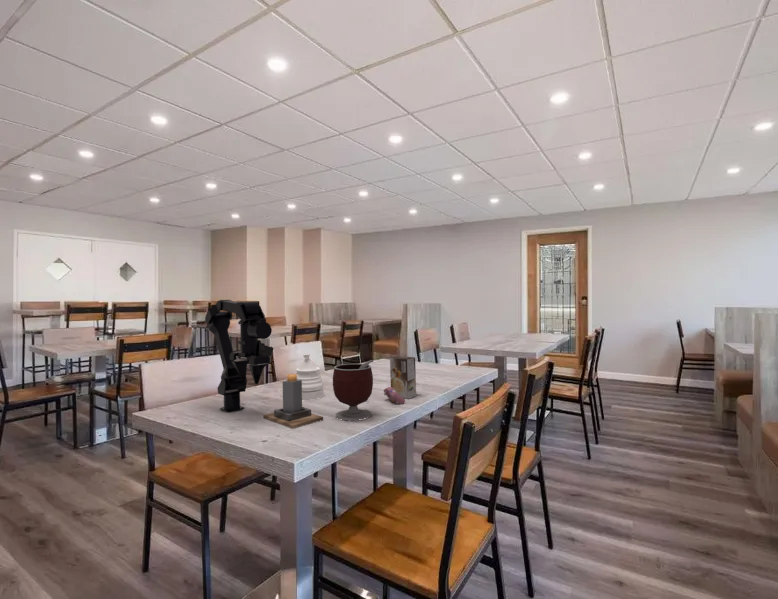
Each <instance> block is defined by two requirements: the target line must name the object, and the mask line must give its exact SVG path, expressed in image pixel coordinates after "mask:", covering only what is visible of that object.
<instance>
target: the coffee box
mask: <svg viewBox="0 0 778 599" xmlns="http://www.w3.org/2000/svg"><path fill="white" fill-rule="evenodd" d="M389 368H390V369H389V370H390V371H389V372H390V387H392V388H394V390H395V391H396V392H397V393H398V394H399V395H400V396H401V397H403V398H404V399H407V400H408V399H411V398H415V397H417V379H416V377H417V376H416V374H417V373H416V357H414V356H403V355H402V356H401V355H395V356H392V357H389Z"/></svg>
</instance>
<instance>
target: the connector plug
mask: <svg viewBox="0 0 778 599" xmlns="http://www.w3.org/2000/svg"><path fill="white" fill-rule="evenodd" d="M286 376H287V377H286V378H287V379H285V380H283V381H282V408H283V412H286V413H289V414H291V413H295V412H299V411H302V407H303V401H302V380H297V373H290V374H287V375H286Z"/></svg>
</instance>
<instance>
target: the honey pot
mask: <svg viewBox="0 0 778 599" xmlns="http://www.w3.org/2000/svg"><path fill="white" fill-rule="evenodd" d="M320 371H321V367H320V366H317V364H316V362H315V361H314V359H312V357H311V356H310V353H304V354H303V359H302V361H301V362H300V364H299V366H298V367H297V368H296V369H295V372H296V374H297V380H302V400H309V401H311V400H310V399H316V400H318V399H317V398H320V397H323V396H325V391H324V390H325V388H324V387H325V386H324V382H323V378H322V375H321V374H320ZM323 398H324V397H323ZM320 399H321V398H320Z"/></svg>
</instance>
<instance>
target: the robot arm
mask: <svg viewBox="0 0 778 599" xmlns="http://www.w3.org/2000/svg"><path fill="white" fill-rule="evenodd" d="M233 313H234V314H235V316H236V317H237V318H239V319H240V320H238V322H237V324H238V325H239V328H240V329H239V330H240V340H238V344H239V345H240V350H238V351H234V350H233V345H232V341H231V338H230V337H231V336H230V334H229V328H230V325H231V320H232V318H233ZM204 317H205V318H204V321H205V324H206V325H207V328H208V330H209V331H210V332H211V333H212V334H213V335H214V337H215V341H216V345H217V349H218V352H219V356H220V361H221V364H222V367H223V370H222V372H221V375H220V382H219V384H218V386H217V393H218V395H221V396H223V406H222V407H220V408H219V410H222V411H223V412H226V413H230V412H235V411H239V410H243V409H245V407H244V406H242V405H241V393H244V392H246V391H247V390H246V389H247V383H248V378H247V369H248V368H247V367H249V369H250V370H249V371H250V373H251V376H252V379H253V382H254V384H255V385H257V384H259V383H260V379H261V377H262V373H263V370H264V369H265V367H267V366H268V365H269V364H270V363H271V361H272V355H273V353H274V349H275V348H274V347H272V346H270V345H269V346H268V345H266V344H265V343H262V341H261V340H266V339H268V338H269V337H270V336H271V335H272V331H273V329H272V327H271V325H270V324H269V322H267V318H266V315H265V313H264V311H263V309H262V307H261V305H260V303H259V302H258V301H234V300H232V299H219V300H217V302H216V303H215V304H214V305H213V306H212V307H211V308H209V309H208V310H207V312H206V314H205V316H204ZM260 339H261V340H260Z"/></svg>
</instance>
